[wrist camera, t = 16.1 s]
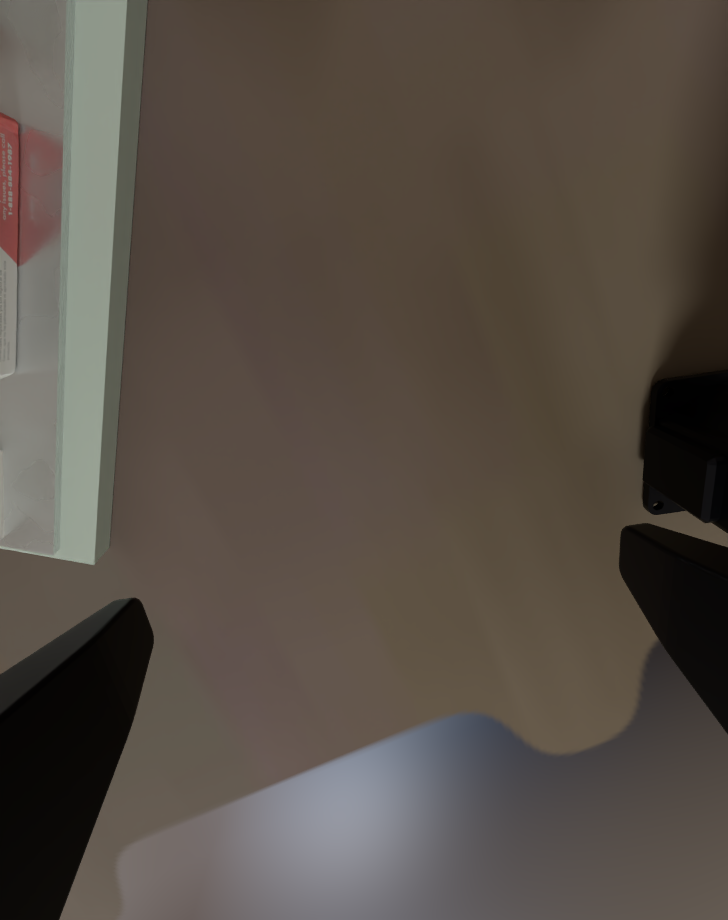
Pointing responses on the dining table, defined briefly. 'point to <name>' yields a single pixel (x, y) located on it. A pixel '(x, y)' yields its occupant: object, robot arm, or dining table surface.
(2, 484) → the block
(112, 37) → the panel
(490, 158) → the dining table surface
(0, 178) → the ink cartridge box
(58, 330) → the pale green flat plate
